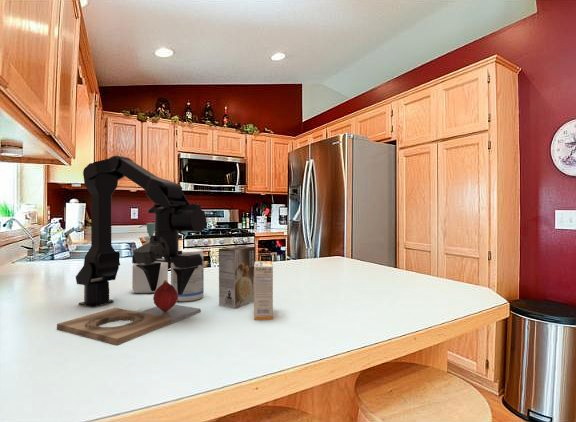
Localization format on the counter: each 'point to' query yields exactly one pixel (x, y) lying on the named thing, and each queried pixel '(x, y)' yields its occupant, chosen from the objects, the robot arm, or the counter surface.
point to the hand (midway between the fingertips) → (166, 292)
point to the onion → (165, 296)
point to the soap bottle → (138, 274)
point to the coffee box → (236, 276)
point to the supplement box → (263, 290)
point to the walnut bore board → (117, 334)
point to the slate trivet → (174, 312)
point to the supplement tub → (196, 281)
